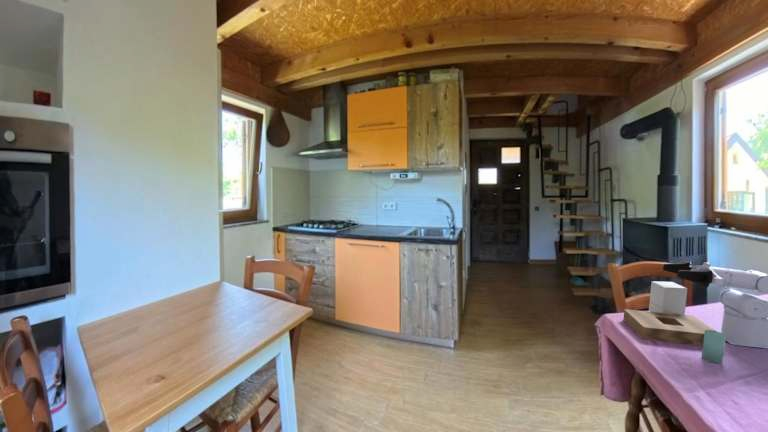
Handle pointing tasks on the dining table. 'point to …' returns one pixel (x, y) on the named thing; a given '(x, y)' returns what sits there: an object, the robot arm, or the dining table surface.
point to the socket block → (667, 326)
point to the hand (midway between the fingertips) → (670, 270)
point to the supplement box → (667, 298)
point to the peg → (713, 346)
